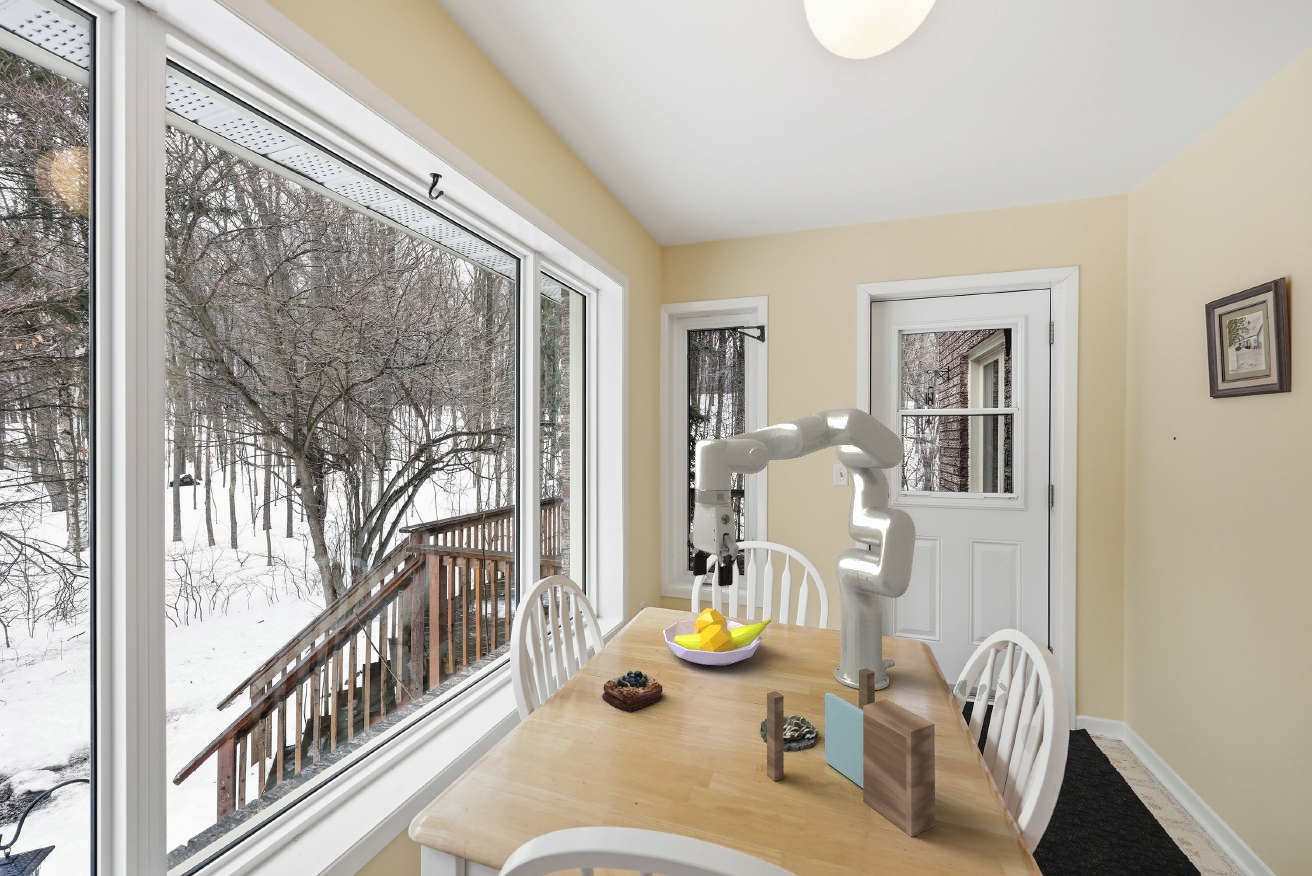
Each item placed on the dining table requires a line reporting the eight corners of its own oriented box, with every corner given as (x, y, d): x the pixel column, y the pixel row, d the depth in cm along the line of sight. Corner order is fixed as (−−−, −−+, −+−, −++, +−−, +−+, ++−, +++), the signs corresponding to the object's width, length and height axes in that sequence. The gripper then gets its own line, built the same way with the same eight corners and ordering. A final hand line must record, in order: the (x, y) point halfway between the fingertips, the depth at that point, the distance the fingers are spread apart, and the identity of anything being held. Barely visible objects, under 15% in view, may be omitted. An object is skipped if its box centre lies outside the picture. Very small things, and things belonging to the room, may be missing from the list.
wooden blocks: (866, 741, 104) (866, 661, 104) (974, 807, 85) (973, 710, 85) (766, 775, 93) (766, 686, 94) (864, 859, 74) (864, 747, 75)
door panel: (829, 759, 97) (829, 692, 97) (875, 790, 88) (874, 716, 89) (824, 761, 97) (824, 693, 97) (869, 793, 88) (869, 718, 88)
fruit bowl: (644, 662, 142) (644, 619, 142) (692, 632, 165) (692, 595, 165) (744, 688, 127) (744, 639, 127) (782, 651, 150) (782, 610, 150)
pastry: (596, 700, 121) (596, 673, 121) (634, 683, 130) (634, 658, 130) (629, 717, 114) (630, 689, 114) (668, 698, 122) (668, 672, 122)
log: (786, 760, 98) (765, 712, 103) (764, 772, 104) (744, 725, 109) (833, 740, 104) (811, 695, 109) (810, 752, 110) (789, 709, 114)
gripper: (752, 501, 107) (751, 587, 107) (706, 494, 123) (705, 570, 122) (720, 502, 104) (720, 592, 104) (677, 495, 119) (676, 573, 119)
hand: (712, 580), depth 113 cm, fingers open, 9 cm apart
